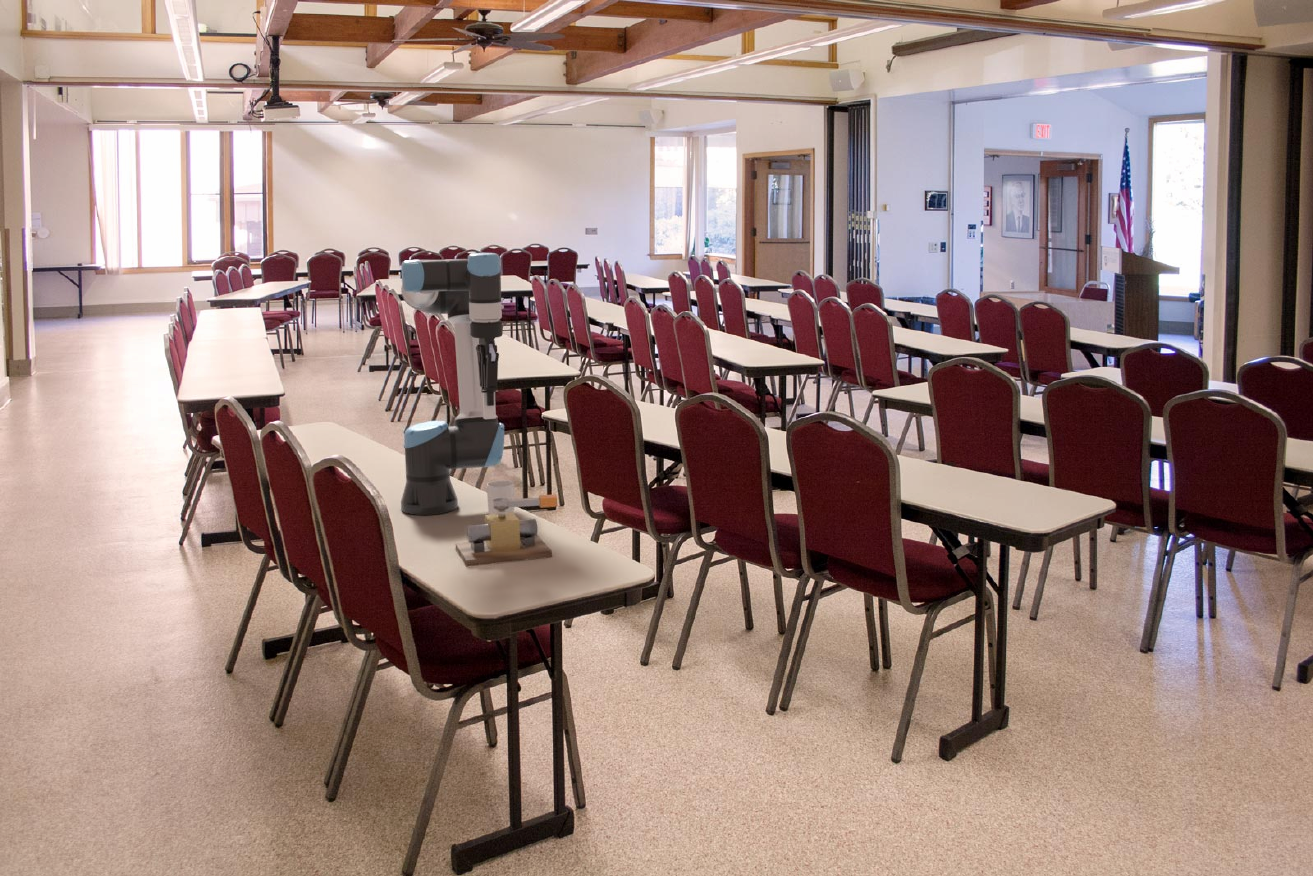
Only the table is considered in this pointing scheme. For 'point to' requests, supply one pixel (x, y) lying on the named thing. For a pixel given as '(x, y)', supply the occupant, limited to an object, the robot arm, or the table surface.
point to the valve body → (502, 533)
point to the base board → (502, 553)
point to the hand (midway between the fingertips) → (489, 418)
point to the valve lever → (526, 502)
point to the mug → (499, 494)
